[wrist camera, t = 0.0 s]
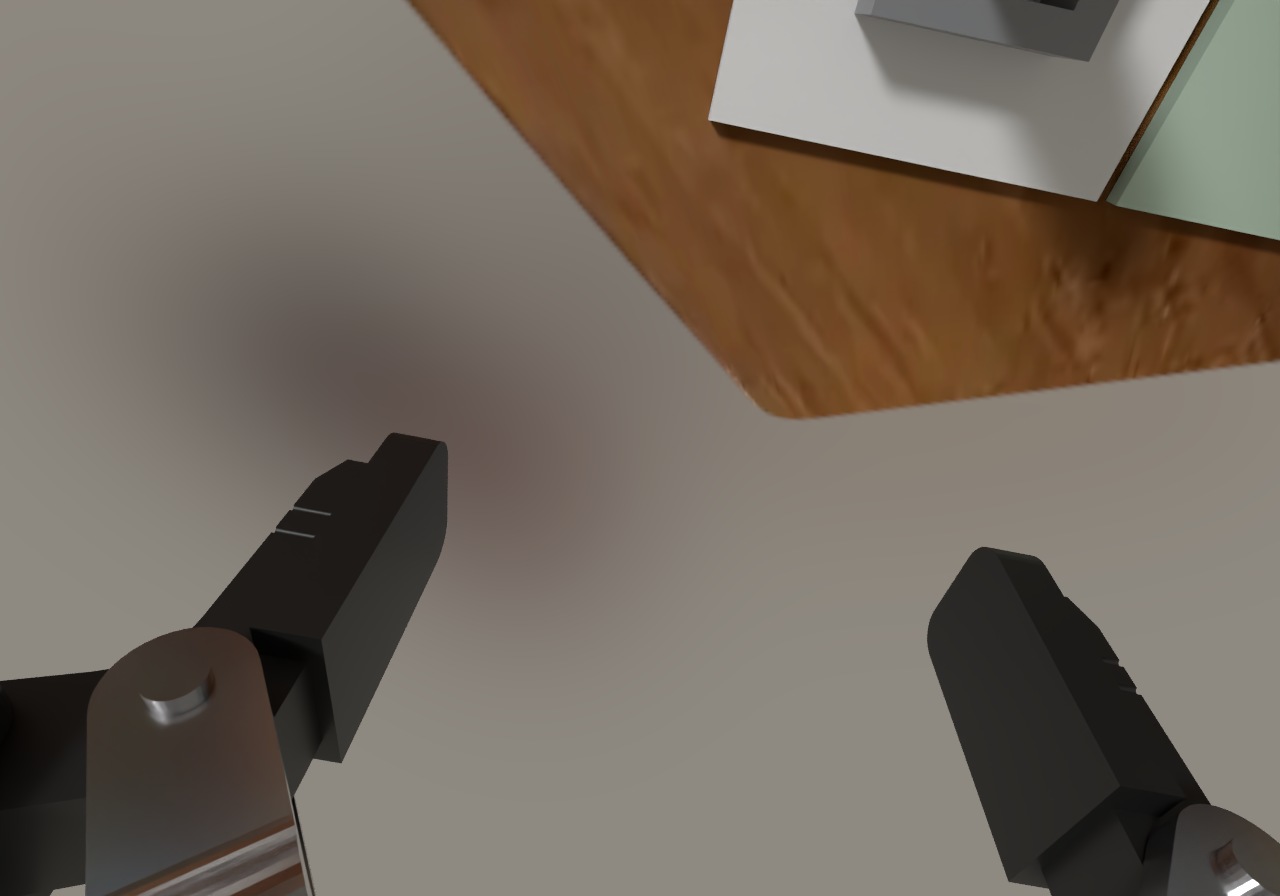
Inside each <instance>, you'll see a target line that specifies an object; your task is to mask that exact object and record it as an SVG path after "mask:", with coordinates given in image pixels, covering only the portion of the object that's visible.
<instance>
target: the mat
mask: <svg viewBox="0 0 1280 896" xmlns="http://www.w3.org/2000/svg"><path fill="white" fill-rule="evenodd" d="M1106 201H1107V202H1109V203H1111V204H1113V205H1115V206H1120V207H1124V208H1129V209H1134V210H1139V211H1143V212H1148V213H1153V214H1158V215H1162V216H1167V217H1172V218H1177V219H1181V220H1186V221H1191V222H1196V223H1200V224H1205V225H1210V226H1215V227H1219V228H1224V229H1229V230H1234V231H1238V232H1243V233H1248V234H1253V235H1257V236H1262V237H1267V238H1272V239H1276V240H1280V0H1220V1H1219V2H1218V4H1217V6H1216V8H1215V9H1214V11H1213V13H1212V15H1211V16H1210V18H1209V20H1208V22H1207V23H1206V25H1205V27H1204V29H1203V30H1202V32H1201V34H1200V36H1199V37H1198V39H1197V41H1196V43H1195V45H1194V46H1193V48H1192V50H1191V52H1190V53H1189V55H1188V57H1187V59H1186V60H1185V62H1184V64H1183V66H1182V67H1181V69H1180V71H1179V73H1178V74H1177V76H1176V78H1175V80H1174V81H1173V83H1172V85H1171V87H1170V89H1169V90H1168V92H1167V94H1166V96H1165V97H1164V99H1163V101H1162V103H1161V104H1160V106H1159V108H1158V110H1157V111H1156V113H1155V115H1154V117H1153V118H1152V120H1151V122H1150V124H1149V125H1148V127H1147V129H1146V131H1145V133H1144V134H1143V136H1142V138H1141V140H1140V141H1139V143H1138V145H1137V147H1136V148H1135V150H1134V152H1133V154H1132V155H1131V157H1130V159H1129V161H1128V162H1127V164H1126V166H1125V168H1124V169H1123V171H1122V173H1121V175H1120V177H1119V178H1118V180H1117V182H1116V184H1115V185H1114V187H1113V189H1112V191H1111V192H1110V194H1109V196H1108V198H1107V199H1106Z"/></svg>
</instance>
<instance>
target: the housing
mask: <svg viewBox="0 0 1280 896" xmlns="http://www.w3.org/2000/svg"><path fill="white" fill-rule="evenodd" d="M1209 1H1210V0H733V4H732V9H731V13H730V18H729V23H728V27H727V32H726V37H725V41H724V46H723V51H722V55H721V60H720V65H719V69H718V74H717V79H716V83H715V88H714V93H713V97H712V102H711V107H710V111H709V116H708V120H711V121H716V122H720V123H725V124H730V125H735V126H739V127H744V128H749V129H754V130H758V131H763V132H768V133H773V134H777V135H782V136H787V137H792V138H796V139H801V140H806V141H811V142H815V143H820V144H825V145H830V146H834V147H839V148H844V149H849V150H853V151H858V152H863V153H868V154H872V155H877V156H882V157H887V158H891V159H896V160H901V161H906V162H910V163H915V164H920V165H925V166H929V167H934V168H939V169H944V170H948V171H953V172H958V173H963V174H967V175H972V176H977V177H982V178H986V179H991V180H996V181H1001V182H1005V183H1010V184H1015V185H1020V186H1024V187H1029V188H1034V189H1039V190H1043V191H1048V192H1053V193H1058V194H1062V195H1067V196H1072V197H1077V198H1082V199H1086V200H1091V201H1096V202H1097V201H1098V199H1099V197H1100V195H1101V193H1102V192H1103V190H1104V188H1105V186H1106V185H1107V183H1108V181H1109V179H1110V177H1111V176H1112V174H1113V172H1114V170H1115V169H1116V167H1117V165H1118V163H1119V161H1120V160H1121V158H1122V156H1123V154H1124V152H1125V151H1126V149H1127V147H1128V145H1129V144H1130V142H1131V140H1132V138H1133V136H1134V135H1135V133H1136V131H1137V129H1138V128H1139V126H1140V124H1141V122H1142V120H1143V119H1144V117H1145V115H1146V113H1147V111H1148V110H1149V108H1150V106H1151V104H1152V103H1153V101H1154V99H1155V97H1156V95H1157V94H1158V92H1159V90H1160V88H1161V87H1162V85H1163V83H1164V81H1165V79H1166V78H1167V76H1168V74H1169V72H1170V70H1171V69H1172V67H1173V65H1174V63H1175V62H1176V60H1177V58H1178V56H1179V54H1180V53H1181V51H1182V49H1183V47H1184V46H1185V44H1186V42H1187V40H1188V38H1189V37H1190V35H1191V33H1192V31H1193V29H1194V28H1195V26H1196V24H1197V22H1198V21H1199V19H1200V17H1201V15H1202V13H1203V12H1204V10H1205V8H1206V6H1207V5H1208V3H1209Z"/></svg>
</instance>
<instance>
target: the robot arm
mask: <svg viewBox="0 0 1280 896" xmlns="http://www.w3.org/2000/svg"><path fill="white" fill-rule="evenodd" d="M447 484H448V451H447V446H446V444H445V443H444V442H441V441H436V440H431V439H426V438H421V437H415V436H410V435H405V434H400V433H391V434H390V435H388V437H387V438H386V439H385V440H384V442H383V443H382V445H381V446H380V447H379V449H378V450H377V451H376V453H375V454H374V456H373V457H372V458H371V460H370V461H369V463H363V462H358V461H353V460H346V461H344V462H343V463H341V464H339V465H338V466H336V467H334V468H333V469H331V470H329V471H328V472H326V473H324V474H322V475H321V476H319V477H317V478H316V479H315V480H314V481H313V482H312V483H311V485H310V486H309V487H308V488H307V489H306V491H305V492H304V493H303V494H302V496H301V497H300V498H299V499H298V500H297V502H296V503H295V504H294V508H293V510H289V511H288V513H287V514H286V515H285V516H284V518H283V519H282V520H281V521H280V523H279V524H278V525H277V527H276V531H275V533H271V534H270V535H269V536H268V537H267V539H266V540H265V541H264V542H263V543H262V545H261V546H260V547H259V548H258V550H257V551H256V552H255V553H254V554H253V556H252V557H251V558H250V559H249V561H248V562H247V563H246V564H245V566H244V567H243V568H242V569H241V570H240V572H239V573H238V574H237V575H236V577H235V578H234V579H233V580H232V581H231V583H230V584H229V585H228V586H227V588H226V589H225V590H224V591H223V592H222V594H221V595H220V596H219V597H218V599H217V600H216V601H215V602H214V604H213V605H212V606H211V607H210V608H209V610H208V611H207V612H206V614H205V615H204V616H203V617H202V618H201V619H200V620H199V621H198V623H197V624H196V625H195V626H194V627H193V628H189V629H183V630H179V631H175V632H171V633H168V634H165V635H162V636H159V637H157V638H155V639H153V640H151V641H148V642H146V643H144V644H142V645H141V646H139V647H137V648H136V649H134V650H132V651H131V652H129V653H128V654H127V655H125V656H124V657H122V658H121V659H120V660H119V661H118V662H117V663H115V664H114V665H113V666H112V667H111V668H110V669H107V670H100V671H94V672H85V673H75V674H65V675H55V676H45V677H35V678H25V679H16V680H7V681H0V896H50V894H51V893H52V891H53V890H55V889H60V888H66V887H71V886H77V885H82V884H85V885H86V886H85V896H316V892H315V888H314V883H313V878H312V874H311V869H310V865H309V860H308V856H307V851H306V846H305V841H304V837H303V832H302V828H301V823H300V818H299V814H298V809H297V804H296V800H295V795H294V794H295V792H296V790H297V788H298V786H299V784H300V783H301V781H302V779H303V777H304V775H305V773H306V771H307V769H308V767H309V765H310V763H311V761H312V759H313V758H314V759H320V760H326V761H331V762H338V763H342V761H343V759H344V757H345V755H346V752H347V750H348V748H349V746H350V744H351V742H352V740H353V738H354V735H355V734H356V731H357V729H358V727H359V725H360V723H361V721H362V719H363V717H364V715H365V713H366V710H367V708H368V706H369V704H370V702H371V700H372V698H373V696H374V694H375V691H376V689H377V687H378V685H379V683H380V681H381V679H382V677H383V675H384V673H385V670H386V668H387V666H388V664H389V662H390V660H391V658H392V656H393V653H394V652H395V649H396V647H397V645H398V643H399V641H400V639H401V637H402V635H403V633H404V631H405V628H406V626H407V624H408V622H409V620H410V618H411V616H412V613H413V612H414V609H415V607H416V605H417V603H418V601H419V599H420V597H421V595H422V593H423V591H424V588H425V586H426V584H427V582H428V580H429V578H430V576H431V574H432V572H433V570H434V567H435V565H436V563H437V561H438V559H439V556H440V553H441V550H442V546H443V543H444V539H445V534H446V527H447ZM927 643H928V650H929V654H930V657H931V660H932V663H933V666H934V669H935V672H936V675H937V677H938V680H939V683H940V686H941V689H942V691H943V695H944V697H945V700H946V703H947V706H948V709H949V712H950V714H951V718H952V720H953V723H954V726H955V729H956V732H957V734H958V738H959V741H960V743H961V746H962V749H963V752H964V755H965V758H966V761H967V764H968V766H969V769H970V772H971V775H972V778H973V781H974V783H975V787H976V789H977V792H978V795H979V798H980V801H981V804H982V807H983V809H984V812H985V815H986V818H987V821H988V824H989V827H990V829H991V832H992V835H993V838H994V841H995V844H996V847H997V850H998V852H999V855H1000V858H1001V861H1002V864H1003V867H1004V870H1005V872H1006V876H1007V878H1008V881H1009V882H1014V883H1019V884H1025V885H1031V886H1036V887H1042V888H1048V889H1049V890H1050V893H1051V895H1052V896H1280V844H1279V843H1278V842H1277V841H1276V840H1275V839H1273V838H1272V837H1271V836H1270V835H1268V834H1267V833H1266V832H1264V831H1263V830H1261V829H1260V828H1259V827H1257V826H1256V825H1254V824H1253V823H1251V822H1249V821H1248V820H1246V819H1244V818H1243V817H1241V816H1239V815H1237V814H1235V813H1232V812H1231V811H1228V810H1226V809H1223V808H1220V807H1217V806H1212V805H1211V804H1210V803H1209V801H1208V800H1207V798H1206V796H1205V795H1204V793H1203V792H1202V790H1201V789H1200V787H1199V785H1198V784H1197V782H1196V781H1195V779H1194V777H1193V776H1192V774H1191V773H1190V771H1189V770H1188V768H1187V767H1186V765H1185V763H1184V762H1183V760H1182V758H1181V757H1180V755H1179V754H1178V752H1177V751H1176V749H1175V747H1174V746H1173V744H1172V743H1171V741H1170V740H1169V738H1168V736H1167V735H1166V733H1165V732H1164V730H1163V728H1162V727H1161V726H1160V724H1159V722H1158V721H1157V719H1156V717H1155V716H1154V714H1153V713H1152V711H1151V710H1150V708H1149V706H1148V705H1147V703H1146V702H1145V700H1144V699H1143V697H1142V695H1138V694H1136V686H1135V684H1134V683H1133V681H1132V680H1131V678H1130V677H1129V675H1128V673H1127V672H1126V670H1125V669H1124V667H1120V666H1119V665H1118V662H1119V659H1118V657H1117V656H1116V654H1115V653H1114V651H1113V650H1112V648H1111V646H1110V645H1109V643H1108V642H1107V640H1106V639H1105V637H1104V635H1103V634H1102V632H1101V631H1100V629H1099V628H1098V627H1097V626H1096V625H1095V624H1094V623H1093V622H1092V621H1091V620H1090V619H1089V618H1088V617H1087V616H1086V615H1085V614H1084V613H1083V612H1082V611H1081V610H1080V609H1079V608H1078V607H1077V606H1076V605H1075V604H1074V603H1073V602H1072V601H1070V599H1069V598H1068V597H1064V596H1063V594H1062V592H1061V591H1060V589H1059V588H1058V586H1057V584H1056V583H1055V581H1054V580H1053V578H1052V576H1051V574H1050V573H1049V571H1048V569H1047V568H1046V566H1045V565H1044V564H1043V562H1042V561H1041V560H1040V559H1038V558H1037V557H1035V556H1031V555H1025V554H1020V553H1015V552H1009V551H1004V550H999V549H994V548H988V547H981V548H978V549H977V550H975V551H974V552H973V553H972V554H971V555H970V557H969V558H968V560H967V562H966V563H965V564H964V566H963V567H962V569H961V571H960V572H959V574H958V575H957V577H956V578H955V580H954V581H953V583H952V585H951V586H950V588H949V589H948V590H947V592H946V594H945V595H944V597H943V598H942V600H941V601H940V603H939V604H938V606H937V607H936V609H935V611H934V612H933V614H932V616H931V619H930V622H929V626H928V634H927Z"/></svg>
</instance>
